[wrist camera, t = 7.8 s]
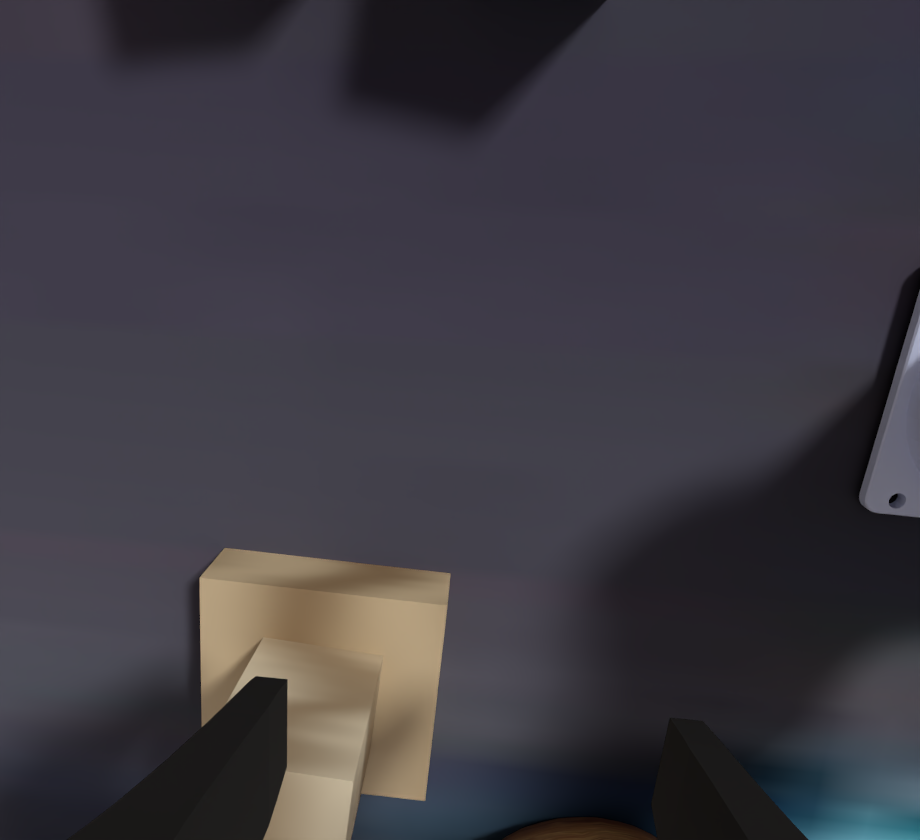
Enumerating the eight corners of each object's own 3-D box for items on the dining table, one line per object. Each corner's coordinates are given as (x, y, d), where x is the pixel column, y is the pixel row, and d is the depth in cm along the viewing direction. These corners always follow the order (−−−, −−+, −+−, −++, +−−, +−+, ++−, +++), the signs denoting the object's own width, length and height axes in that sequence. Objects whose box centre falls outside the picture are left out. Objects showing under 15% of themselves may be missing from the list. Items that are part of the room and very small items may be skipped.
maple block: (383, 655, 20) (353, 781, 15) (369, 753, 21) (337, 900, 16) (263, 637, 20) (195, 757, 15) (255, 736, 21) (189, 878, 16)
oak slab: (451, 566, 22) (447, 605, 20) (430, 745, 24) (425, 801, 22) (230, 541, 22) (199, 577, 20) (230, 722, 24) (202, 775, 22)
